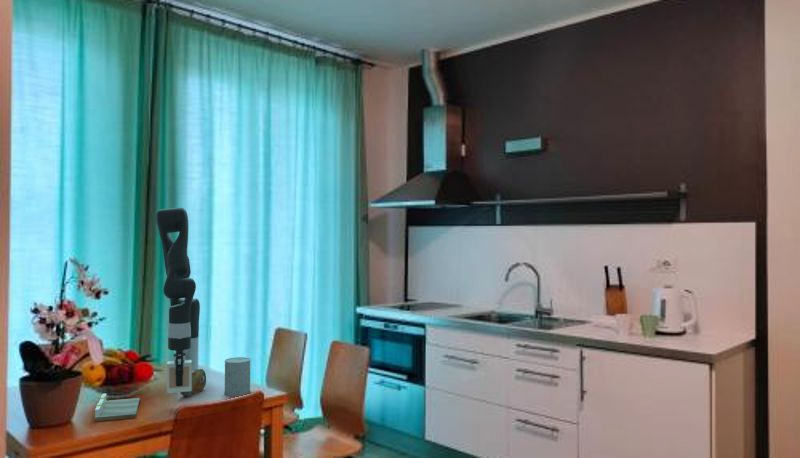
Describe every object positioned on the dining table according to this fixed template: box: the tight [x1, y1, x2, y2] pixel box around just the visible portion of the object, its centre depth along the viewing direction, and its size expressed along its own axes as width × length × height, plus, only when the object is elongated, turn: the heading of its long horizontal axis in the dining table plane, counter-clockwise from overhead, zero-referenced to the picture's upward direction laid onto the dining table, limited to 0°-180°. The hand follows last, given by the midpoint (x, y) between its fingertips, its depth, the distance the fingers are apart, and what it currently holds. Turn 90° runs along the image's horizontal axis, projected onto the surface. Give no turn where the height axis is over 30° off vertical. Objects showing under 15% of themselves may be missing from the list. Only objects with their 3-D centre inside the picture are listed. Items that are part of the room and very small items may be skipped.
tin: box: [179, 368, 207, 397], centre depth 223 cm, size 15×3×8 cm, turn 168°
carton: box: [166, 360, 192, 394], centre depth 207 cm, size 4×8×10 cm, turn 111°
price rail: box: [94, 393, 107, 419], centre depth 199 cm, size 20×1×3 cm, turn 20°
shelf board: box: [94, 397, 141, 422], centre depth 201 cm, size 20×12×1 cm, turn 20°
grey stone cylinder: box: [224, 356, 252, 397], centre depth 225 cm, size 10×10×12 cm
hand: (179, 383), depth 207 cm, fingers closed on carton, 4 cm apart
